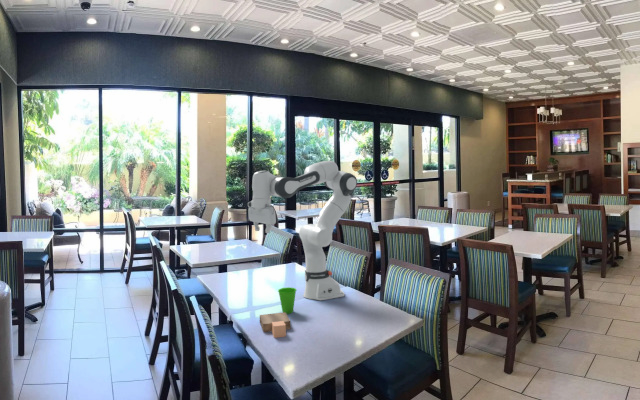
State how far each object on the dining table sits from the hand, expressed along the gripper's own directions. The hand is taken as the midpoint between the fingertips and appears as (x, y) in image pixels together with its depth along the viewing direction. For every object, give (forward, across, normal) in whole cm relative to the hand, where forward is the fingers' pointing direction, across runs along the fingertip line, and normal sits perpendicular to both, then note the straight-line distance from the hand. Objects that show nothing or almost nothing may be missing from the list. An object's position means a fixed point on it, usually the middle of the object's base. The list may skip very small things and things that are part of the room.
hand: (262, 231), depth 210 cm
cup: (+39, -10, -7) cm, 41 cm away
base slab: (+40, -21, +7) cm, 46 cm away
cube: (+40, -31, +12) cm, 52 cm away
